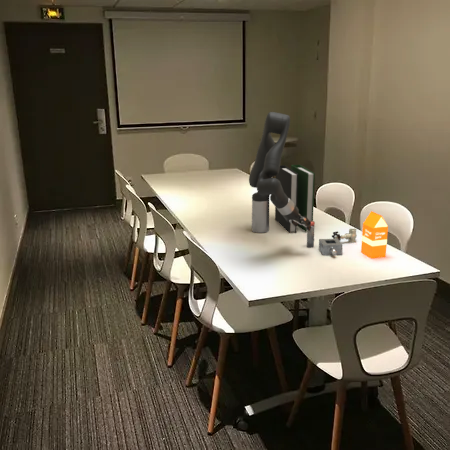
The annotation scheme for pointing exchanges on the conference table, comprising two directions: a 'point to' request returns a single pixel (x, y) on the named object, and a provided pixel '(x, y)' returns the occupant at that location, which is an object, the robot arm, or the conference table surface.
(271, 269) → the conference table surface
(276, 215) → the binder
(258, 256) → the conference table surface
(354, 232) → the valve
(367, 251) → the orange juice
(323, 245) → the grey box
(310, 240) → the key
